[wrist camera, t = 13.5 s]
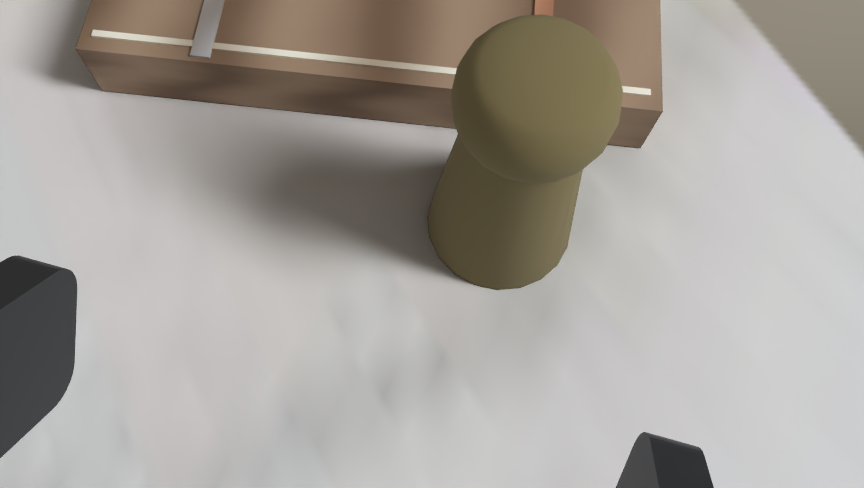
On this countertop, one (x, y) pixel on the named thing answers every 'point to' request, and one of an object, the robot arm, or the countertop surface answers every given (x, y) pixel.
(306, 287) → the countertop surface
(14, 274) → the robot arm
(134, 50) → the walnut plank
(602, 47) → the cork
